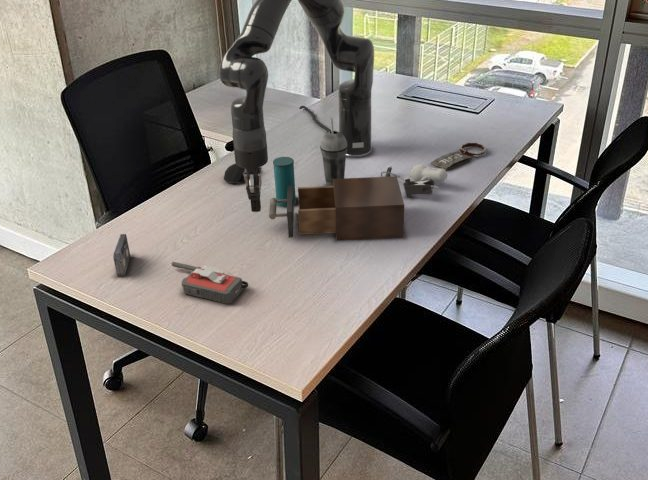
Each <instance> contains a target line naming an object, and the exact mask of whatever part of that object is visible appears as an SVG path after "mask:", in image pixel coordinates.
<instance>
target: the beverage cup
mask: <svg viewBox="0 0 648 480" xmlns="http://www.w3.org/2000/svg"><path fill="white" fill-rule="evenodd" d="M333 119H334V117H333V116H331V117H330V130H331V131H330V132H328V131H327V132H326V133H325V134H324V135H323V136H322V138H321V140H320V145H319V149H320V153H321V156H322V165H323V171H324V173H323V174H324V179H325V180H324V181H325V186H333V179H343V178H345V176H346V175H345V173H346V159H347V156H346V153H347V148H348V145H347V141H346V138H345V137H344V135H343V134H341V133H340V132H339V130H338V131H337V130H334V121H333Z"/></svg>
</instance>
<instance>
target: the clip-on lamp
mask: <svg viewBox="0 0 648 480" xmlns="http://www.w3.org/2000/svg"><path fill="white" fill-rule="evenodd" d="M392 170H393V165H390V166H388V167H387V169H386V171H381V172H380V177H391V176H397V178H399V179H401V180H403V181H404V182H403V187H404V192H405V195H406V198H412V196H413V195H432V193H433V189H435V190H439V189H440V188H439V186H437V185H436V184H435V182H438V183H439V182H445V181H446V179H447V177H448V172H447V171H446V170H447V169H446V170H445V169H442V168H440V167H427V166H426V165H424V164H422V163H419V164H418V163H417V164H415V165H413V166H412V169H411V170H410V174H409V175H410V177H407V178H404V177H403V176H400V175H398V174H395V173H393V172H392ZM383 174H385V176H384V175H383Z"/></svg>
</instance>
